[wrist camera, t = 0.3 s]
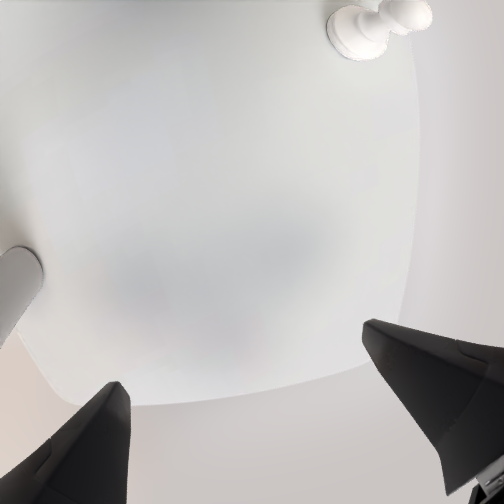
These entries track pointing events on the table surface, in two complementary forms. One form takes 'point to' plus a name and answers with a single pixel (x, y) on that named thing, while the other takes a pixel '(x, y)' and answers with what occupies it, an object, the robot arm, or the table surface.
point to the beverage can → (17, 286)
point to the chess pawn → (375, 26)
